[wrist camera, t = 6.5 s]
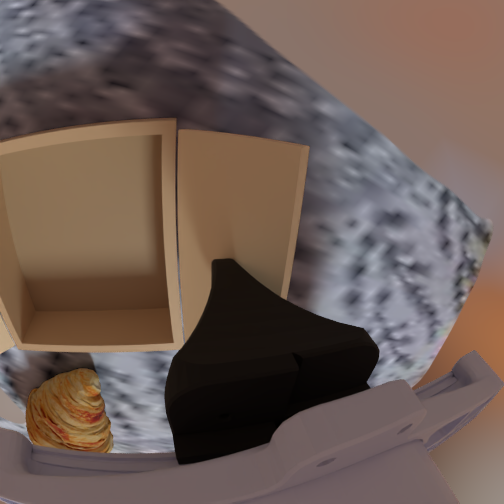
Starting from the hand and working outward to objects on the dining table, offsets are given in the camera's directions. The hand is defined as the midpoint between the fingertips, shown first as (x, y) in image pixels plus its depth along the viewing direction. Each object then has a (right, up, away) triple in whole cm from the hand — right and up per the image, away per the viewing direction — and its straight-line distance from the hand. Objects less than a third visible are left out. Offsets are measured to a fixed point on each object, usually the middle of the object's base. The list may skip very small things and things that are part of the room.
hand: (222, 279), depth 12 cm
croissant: (-18, -16, +12) cm, 27 cm away
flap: (0, 0, 0) cm, 0 cm away
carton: (-9, +2, +4) cm, 10 cm away
